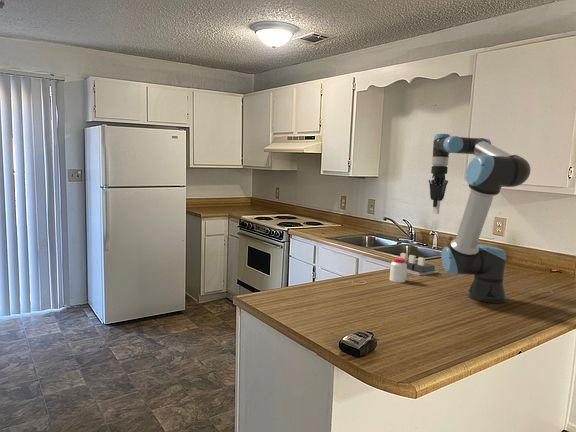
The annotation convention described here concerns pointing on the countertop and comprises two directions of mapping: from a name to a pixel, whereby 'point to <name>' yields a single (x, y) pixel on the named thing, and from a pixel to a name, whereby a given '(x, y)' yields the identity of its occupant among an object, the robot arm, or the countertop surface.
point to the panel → (420, 268)
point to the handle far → (421, 261)
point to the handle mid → (412, 259)
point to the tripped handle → (403, 256)
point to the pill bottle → (398, 270)
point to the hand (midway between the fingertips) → (435, 213)
